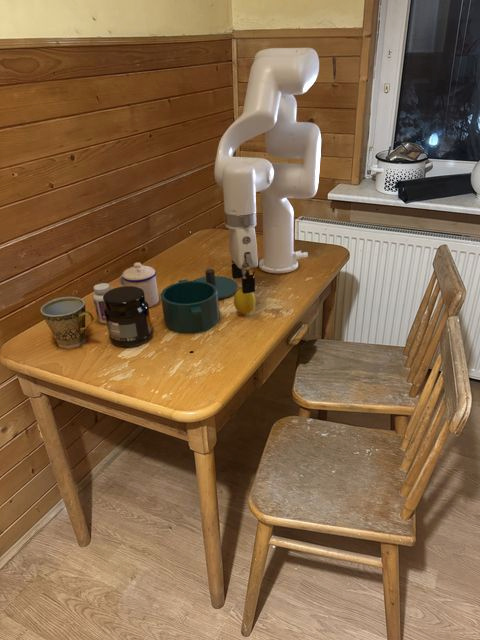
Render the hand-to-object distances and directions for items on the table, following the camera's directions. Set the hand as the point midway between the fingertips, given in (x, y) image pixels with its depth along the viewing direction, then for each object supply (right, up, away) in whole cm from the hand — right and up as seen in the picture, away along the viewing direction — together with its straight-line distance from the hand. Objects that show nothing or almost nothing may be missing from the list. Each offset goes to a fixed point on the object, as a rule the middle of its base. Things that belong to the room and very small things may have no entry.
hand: (243, 284), depth 130 cm
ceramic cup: (-41, -15, -5) cm, 44 cm away
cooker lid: (-10, +1, +18) cm, 21 cm away
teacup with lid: (-30, -3, +13) cm, 33 cm away
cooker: (-14, -9, +3) cm, 17 cm away
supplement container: (-28, -14, -4) cm, 31 cm away
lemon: (0, -7, +5) cm, 9 cm away
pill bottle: (-36, -9, +5) cm, 37 cm away
